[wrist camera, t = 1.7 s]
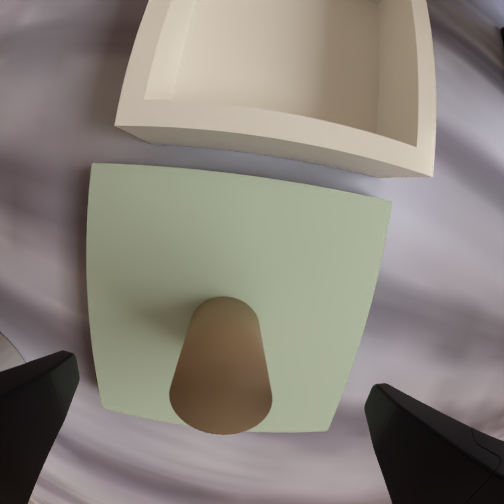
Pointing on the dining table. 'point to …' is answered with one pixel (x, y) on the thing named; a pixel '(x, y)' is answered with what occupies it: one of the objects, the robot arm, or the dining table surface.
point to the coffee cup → (8, 355)
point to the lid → (227, 295)
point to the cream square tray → (288, 81)
